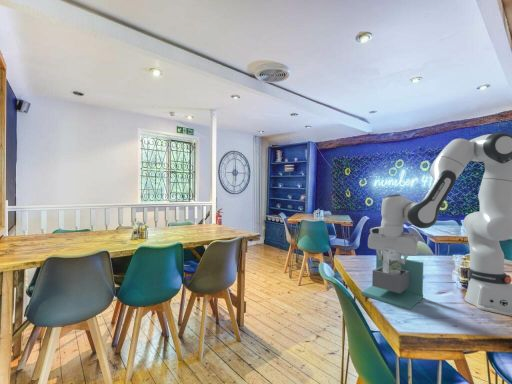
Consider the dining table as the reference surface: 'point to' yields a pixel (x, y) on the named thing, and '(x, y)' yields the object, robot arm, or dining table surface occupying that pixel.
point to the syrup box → (391, 262)
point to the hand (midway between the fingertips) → (391, 261)
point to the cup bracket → (397, 284)
